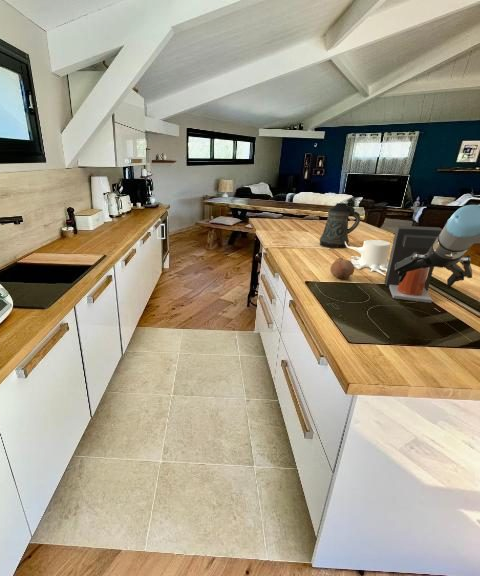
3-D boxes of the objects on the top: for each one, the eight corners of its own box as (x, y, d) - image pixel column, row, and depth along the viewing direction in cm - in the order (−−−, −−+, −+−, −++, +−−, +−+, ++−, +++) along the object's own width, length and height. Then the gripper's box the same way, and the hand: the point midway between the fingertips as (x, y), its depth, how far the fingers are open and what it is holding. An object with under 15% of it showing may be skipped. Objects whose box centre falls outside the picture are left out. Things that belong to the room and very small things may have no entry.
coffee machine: (423, 286, 127) (439, 227, 119) (434, 303, 112) (453, 237, 103) (384, 282, 133) (396, 225, 124) (389, 297, 118) (404, 234, 109)
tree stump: (332, 265, 155) (335, 243, 151) (352, 253, 174) (356, 233, 169) (395, 277, 137) (401, 252, 133) (411, 263, 155) (416, 240, 151)
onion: (332, 281, 143) (329, 260, 144) (355, 278, 139) (351, 256, 140) (331, 281, 134) (328, 258, 135) (356, 277, 130) (352, 254, 131)
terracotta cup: (419, 289, 121) (427, 262, 117) (424, 297, 115) (432, 268, 111) (395, 286, 125) (402, 260, 120) (399, 294, 118) (405, 266, 114)
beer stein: (315, 242, 200) (320, 202, 191) (346, 241, 199) (352, 201, 190) (324, 248, 185) (330, 205, 176) (358, 248, 184) (365, 204, 175)
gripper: (395, 256, 91) (380, 286, 110) (507, 264, 82) (470, 296, 100) (397, 234, 94) (382, 267, 112) (505, 240, 84) (469, 275, 102)
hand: (423, 281), depth 106 cm, fingers open, 13 cm apart
